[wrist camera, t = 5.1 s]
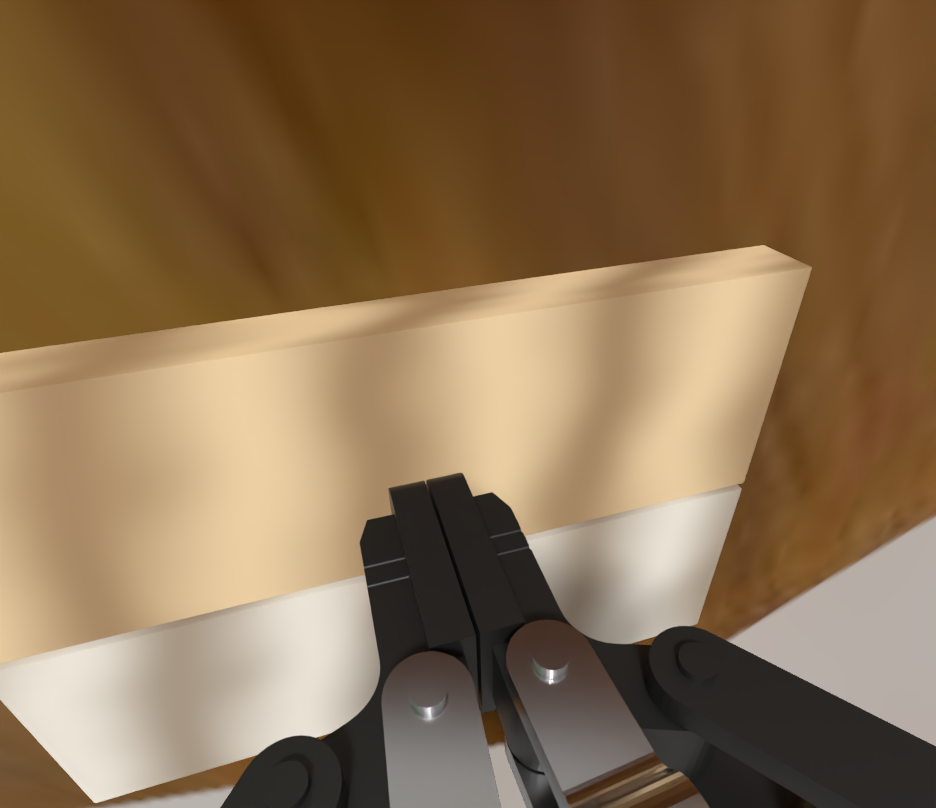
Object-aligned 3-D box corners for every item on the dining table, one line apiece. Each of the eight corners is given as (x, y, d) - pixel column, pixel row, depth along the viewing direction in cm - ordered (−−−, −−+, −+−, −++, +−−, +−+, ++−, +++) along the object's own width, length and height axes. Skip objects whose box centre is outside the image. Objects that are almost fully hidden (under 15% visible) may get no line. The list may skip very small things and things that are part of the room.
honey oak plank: (763, 244, 18) (812, 267, 16) (709, 449, 22) (743, 482, 21) (-177, 377, 13) (-240, 429, 11) (0, 609, 17) (-27, 670, 16)
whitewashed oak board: (707, 454, 22) (741, 488, 21) (671, 587, 27) (697, 623, 25) (4, 614, 17) (-22, 676, 16) (106, 745, 22) (94, 803, 20)
